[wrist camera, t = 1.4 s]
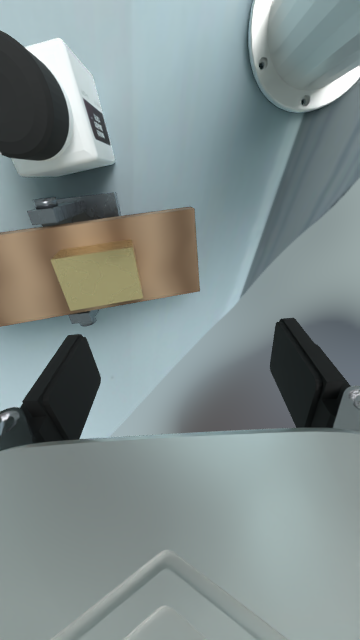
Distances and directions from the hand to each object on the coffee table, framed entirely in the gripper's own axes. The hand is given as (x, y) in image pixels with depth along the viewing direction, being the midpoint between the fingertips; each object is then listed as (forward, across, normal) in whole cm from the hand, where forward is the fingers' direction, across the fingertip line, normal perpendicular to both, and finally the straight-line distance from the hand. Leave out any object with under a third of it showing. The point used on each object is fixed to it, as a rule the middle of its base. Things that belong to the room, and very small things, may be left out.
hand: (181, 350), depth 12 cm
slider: (+15, +8, 0) cm, 17 cm away
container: (+24, +11, -12) cm, 29 cm away
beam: (+16, +12, 0) cm, 20 cm away
